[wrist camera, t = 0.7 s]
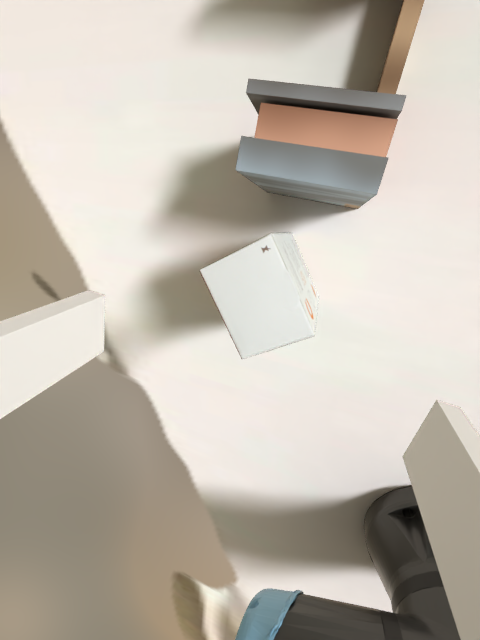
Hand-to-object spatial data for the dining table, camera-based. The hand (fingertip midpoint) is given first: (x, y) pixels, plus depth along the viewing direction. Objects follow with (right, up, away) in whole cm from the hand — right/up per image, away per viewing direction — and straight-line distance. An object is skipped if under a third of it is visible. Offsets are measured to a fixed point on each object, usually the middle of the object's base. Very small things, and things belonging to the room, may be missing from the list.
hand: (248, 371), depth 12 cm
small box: (+4, +7, +22) cm, 24 cm away
